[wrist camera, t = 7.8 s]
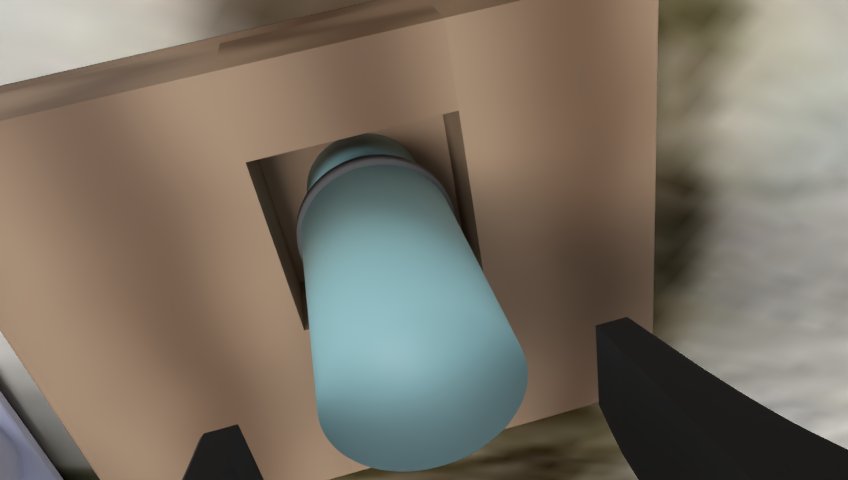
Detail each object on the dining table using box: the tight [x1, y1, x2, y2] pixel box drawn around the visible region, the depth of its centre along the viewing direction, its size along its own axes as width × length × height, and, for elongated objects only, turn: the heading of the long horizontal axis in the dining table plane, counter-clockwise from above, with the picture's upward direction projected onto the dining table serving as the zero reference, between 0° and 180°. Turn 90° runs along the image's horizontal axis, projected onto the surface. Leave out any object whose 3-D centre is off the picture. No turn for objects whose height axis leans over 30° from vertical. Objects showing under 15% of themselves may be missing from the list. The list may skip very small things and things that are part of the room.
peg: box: [296, 133, 528, 472], centre depth 16 cm, size 4×4×9 cm
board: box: [0, 0, 658, 480], centre depth 20 cm, size 18×14×3 cm
